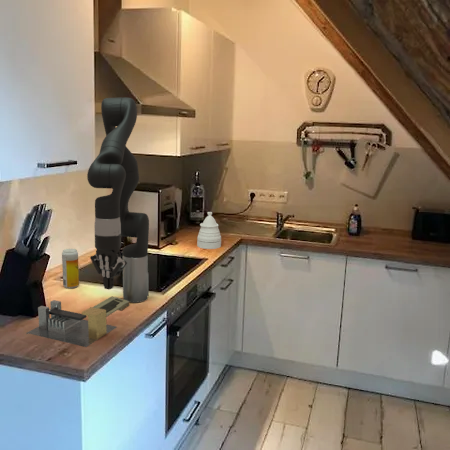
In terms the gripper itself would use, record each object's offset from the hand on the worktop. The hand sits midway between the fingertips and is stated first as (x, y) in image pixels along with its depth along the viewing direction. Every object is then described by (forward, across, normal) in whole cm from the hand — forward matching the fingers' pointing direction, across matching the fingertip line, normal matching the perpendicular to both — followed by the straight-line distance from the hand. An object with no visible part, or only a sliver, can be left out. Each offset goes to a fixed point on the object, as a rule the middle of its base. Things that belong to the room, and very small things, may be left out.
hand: (108, 288), depth 151 cm
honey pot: (+16, -38, +116) cm, 123 cm away
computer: (+18, -18, +18) cm, 31 cm away
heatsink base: (+17, -14, -2) cm, 22 cm away
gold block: (+16, -6, 0) cm, 17 cm away
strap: (+12, -17, -2) cm, 20 cm away
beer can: (+17, -48, +28) cm, 58 cm away
